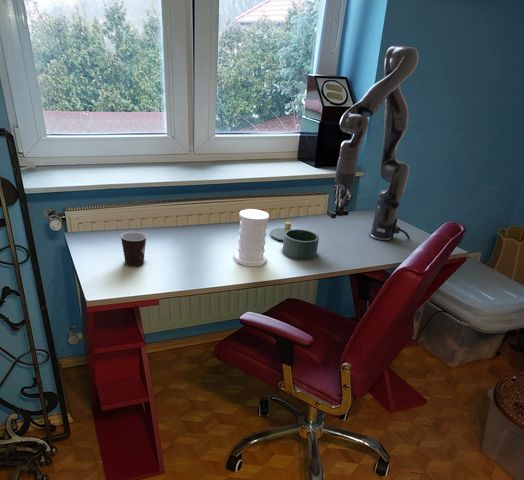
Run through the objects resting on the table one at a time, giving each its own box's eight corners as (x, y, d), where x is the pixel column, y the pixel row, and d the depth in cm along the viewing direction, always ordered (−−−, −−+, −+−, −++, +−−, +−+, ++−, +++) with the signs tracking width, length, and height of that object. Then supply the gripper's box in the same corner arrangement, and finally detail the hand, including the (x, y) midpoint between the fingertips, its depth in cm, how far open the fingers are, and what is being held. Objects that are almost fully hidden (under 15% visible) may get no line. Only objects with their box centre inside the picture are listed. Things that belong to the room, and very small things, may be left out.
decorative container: (230, 255, 204) (233, 209, 195) (258, 253, 209) (262, 208, 199) (241, 267, 196) (245, 220, 186) (270, 264, 200) (275, 218, 190)
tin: (308, 246, 220) (311, 228, 216) (321, 259, 209) (324, 241, 205) (277, 247, 216) (280, 229, 212) (289, 260, 205) (291, 242, 201)
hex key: (346, 214, 211) (346, 209, 210) (351, 218, 208) (352, 213, 207) (326, 214, 209) (327, 209, 208) (331, 218, 205) (332, 213, 204)
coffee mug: (135, 270, 185) (134, 242, 180) (117, 262, 189) (115, 236, 183) (157, 260, 194) (157, 234, 188) (139, 253, 197) (139, 228, 192)
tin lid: (296, 230, 235) (298, 216, 232) (308, 242, 224) (310, 228, 220) (265, 230, 231) (266, 217, 227) (275, 243, 219) (277, 229, 216)
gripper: (363, 175, 196) (354, 220, 205) (347, 165, 207) (340, 208, 216) (345, 175, 194) (337, 221, 203) (330, 165, 204) (323, 209, 214)
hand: (338, 214), depth 210 cm, fingers closed on hex key, 2 cm apart
